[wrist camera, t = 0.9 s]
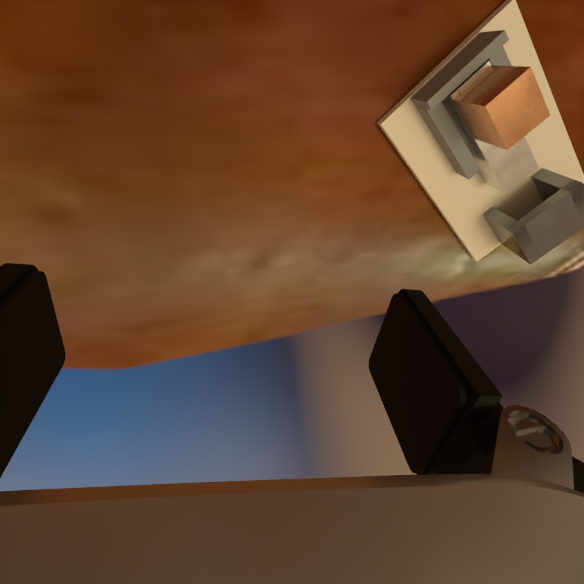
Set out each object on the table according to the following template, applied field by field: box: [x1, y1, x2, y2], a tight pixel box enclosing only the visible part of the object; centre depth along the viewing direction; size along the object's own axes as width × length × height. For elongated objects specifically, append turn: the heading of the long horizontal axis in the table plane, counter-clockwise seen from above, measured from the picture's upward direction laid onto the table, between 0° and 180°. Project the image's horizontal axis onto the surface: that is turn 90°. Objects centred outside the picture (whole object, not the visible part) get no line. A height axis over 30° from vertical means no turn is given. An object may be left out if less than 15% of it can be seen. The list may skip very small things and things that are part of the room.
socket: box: [483, 168, 584, 264], centre depth 36 cm, size 7×5×5 cm
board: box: [377, 0, 584, 262], centre depth 34 cm, size 13×20×4 cm, turn 43°
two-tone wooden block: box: [441, 61, 550, 193], centre depth 30 cm, size 3×11×7 cm, turn 43°
